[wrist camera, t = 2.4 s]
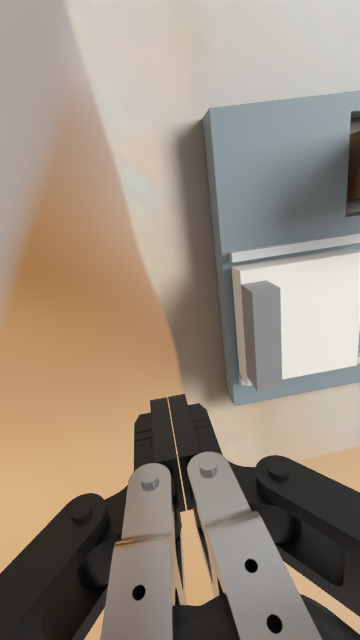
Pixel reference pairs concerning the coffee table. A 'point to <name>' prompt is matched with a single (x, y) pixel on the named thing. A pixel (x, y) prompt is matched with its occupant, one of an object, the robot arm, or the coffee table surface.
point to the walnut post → (354, 167)
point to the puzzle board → (278, 204)
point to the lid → (297, 316)
